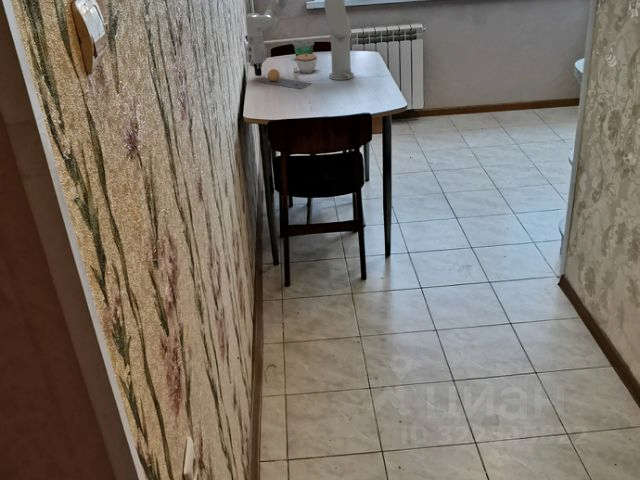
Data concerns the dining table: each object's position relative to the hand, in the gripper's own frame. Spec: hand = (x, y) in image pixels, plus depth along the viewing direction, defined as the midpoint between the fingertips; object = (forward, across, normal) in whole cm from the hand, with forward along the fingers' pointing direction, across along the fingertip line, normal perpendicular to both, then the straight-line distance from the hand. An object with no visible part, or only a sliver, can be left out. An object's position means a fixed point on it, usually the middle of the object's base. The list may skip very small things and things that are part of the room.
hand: (258, 75), depth 342 cm
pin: (+2, 0, -24) cm, 24 cm away
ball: (-1, 0, -10) cm, 10 cm away
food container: (+2, +39, 0) cm, 39 cm away
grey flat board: (+2, 0, -17) cm, 17 cm away
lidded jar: (+2, +22, -15) cm, 27 cm away
